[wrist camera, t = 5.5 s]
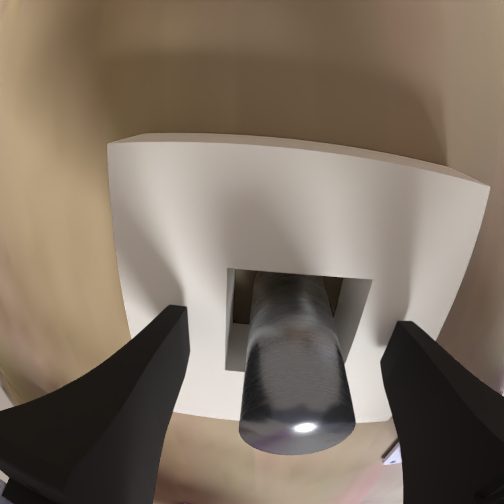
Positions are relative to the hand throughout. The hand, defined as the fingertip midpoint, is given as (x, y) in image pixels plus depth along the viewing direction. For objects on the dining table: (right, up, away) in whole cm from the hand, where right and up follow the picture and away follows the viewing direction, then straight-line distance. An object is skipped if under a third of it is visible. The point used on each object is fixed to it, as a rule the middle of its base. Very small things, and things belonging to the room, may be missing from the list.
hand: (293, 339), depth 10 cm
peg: (0, +1, +3) cm, 3 cm away
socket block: (0, +1, +3) cm, 3 cm away
